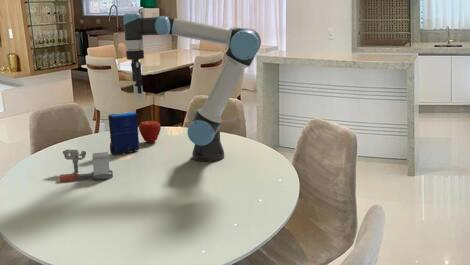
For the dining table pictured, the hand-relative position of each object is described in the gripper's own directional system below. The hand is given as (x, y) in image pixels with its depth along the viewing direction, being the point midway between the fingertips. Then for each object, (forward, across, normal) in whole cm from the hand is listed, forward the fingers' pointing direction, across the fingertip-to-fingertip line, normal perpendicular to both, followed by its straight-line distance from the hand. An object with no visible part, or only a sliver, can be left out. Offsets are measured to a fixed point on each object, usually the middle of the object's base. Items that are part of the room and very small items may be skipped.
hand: (138, 98), depth 248 cm
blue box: (+31, -24, -7) cm, 39 cm away
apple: (+31, -39, +7) cm, 50 cm away
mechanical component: (+30, +2, -30) cm, 43 cm away
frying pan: (+30, +12, -25) cm, 41 cm away
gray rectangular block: (+28, +12, -19) cm, 36 cm away
